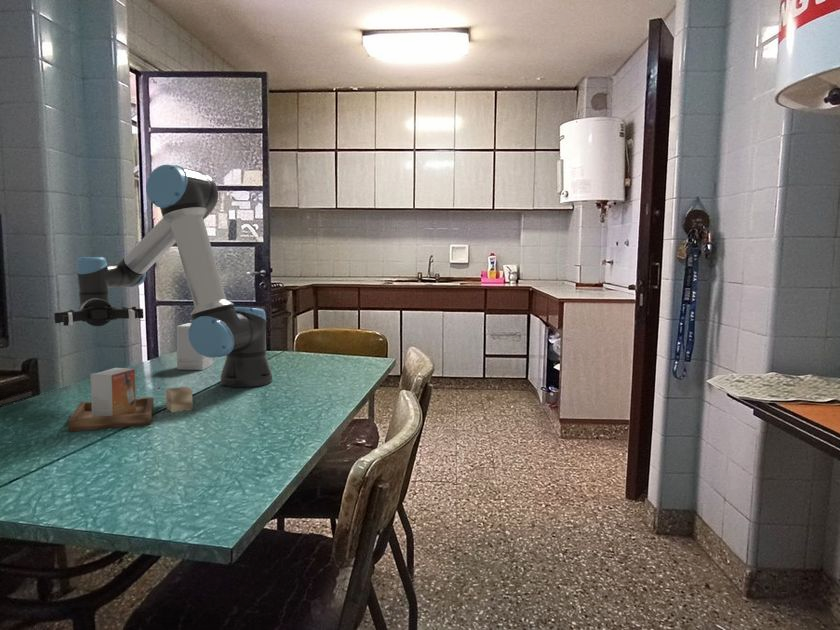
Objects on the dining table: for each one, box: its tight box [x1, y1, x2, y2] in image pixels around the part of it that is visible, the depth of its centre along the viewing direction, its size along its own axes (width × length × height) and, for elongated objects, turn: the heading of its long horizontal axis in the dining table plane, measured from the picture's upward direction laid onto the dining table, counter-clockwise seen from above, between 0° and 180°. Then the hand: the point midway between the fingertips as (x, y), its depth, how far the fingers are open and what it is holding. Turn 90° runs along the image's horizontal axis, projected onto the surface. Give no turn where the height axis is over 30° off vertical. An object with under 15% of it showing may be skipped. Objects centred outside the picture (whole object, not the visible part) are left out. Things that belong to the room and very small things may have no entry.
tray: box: [67, 396, 155, 433], centre depth 130 cm, size 16×16×2 cm
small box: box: [90, 367, 137, 417], centre depth 129 cm, size 8×6×10 cm
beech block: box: [165, 386, 193, 413], centre depth 139 cm, size 5×5×5 cm
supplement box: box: [176, 322, 213, 371], centre depth 189 cm, size 9×9×15 cm
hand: (102, 317), depth 138 cm, fingers open, 13 cm apart
